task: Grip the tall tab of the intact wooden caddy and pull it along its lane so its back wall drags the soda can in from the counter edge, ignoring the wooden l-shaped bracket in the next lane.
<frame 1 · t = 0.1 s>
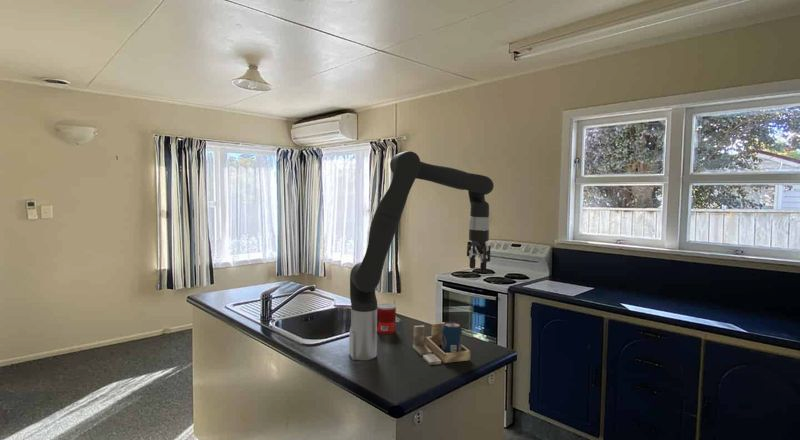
hand: (477, 270, 161), 29 cm above the worktop, fingers open, 8 cm apart
wooden caddy: (447, 341, 153), point 5 cm above the worktop, slide at 0.0 cm
canned food: (385, 331, 175), on the worktop
wooden l-shaped bracket: (426, 355, 151), on the worktop
soda can: (451, 357, 149), resting in wooden caddy
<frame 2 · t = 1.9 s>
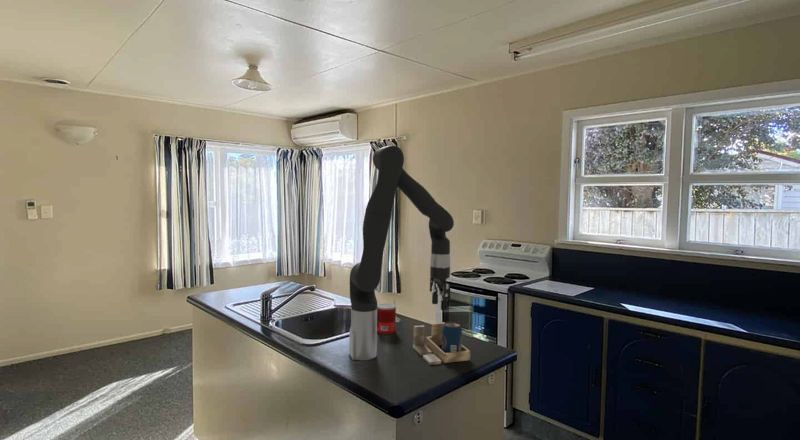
hand: (439, 307, 160), 15 cm above the worktop, fingers open, 8 cm apart
nothing on the worktop moved.
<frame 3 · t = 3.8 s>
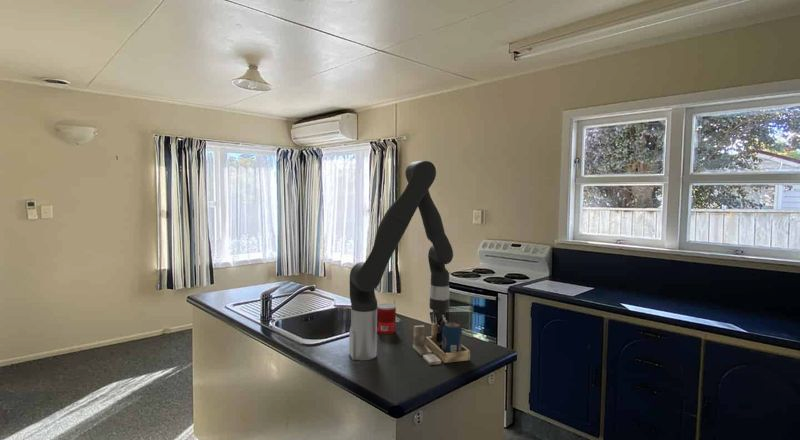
hand: (438, 340, 160), 2 cm above the worktop, fingers closed on wooden caddy
wooden caddy: (447, 341, 153), point 5 cm above the worktop, slide at 0.0 cm, touching gripper
everything else where it was.
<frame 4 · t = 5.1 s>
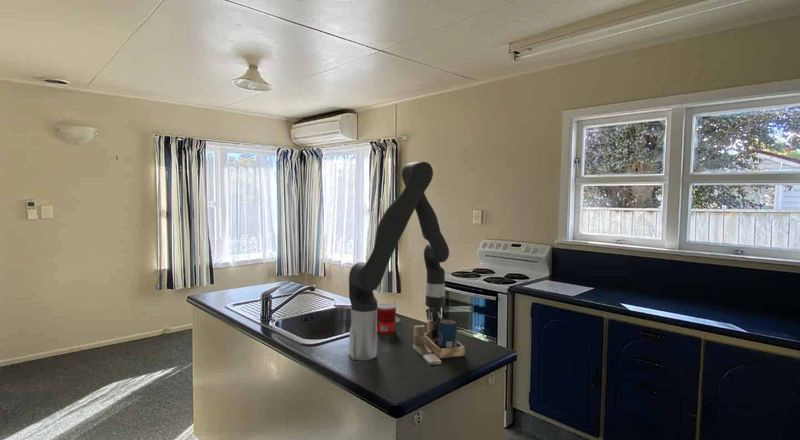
hand: (434, 337, 164), 2 cm above the worktop, fingers closed on wooden caddy
wooden caddy: (442, 337, 157), point 4 cm above the worktop, slide at 4.2 cm, touching gripper, soda can
soda can: (447, 353, 153), resting in wooden caddy
everything else where it was.
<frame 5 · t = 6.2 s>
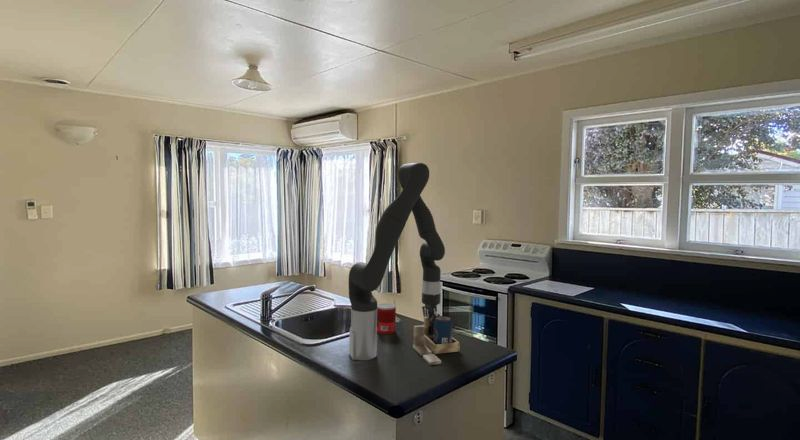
hand: (430, 333, 168), 2 cm above the worktop, fingers closed on wooden caddy
wooden caddy: (438, 333, 161), point 4 cm above the worktop, slide at 8.3 cm, touching gripper, soda can
soda can: (442, 349, 157), resting in wooden caddy
everything else where it was.
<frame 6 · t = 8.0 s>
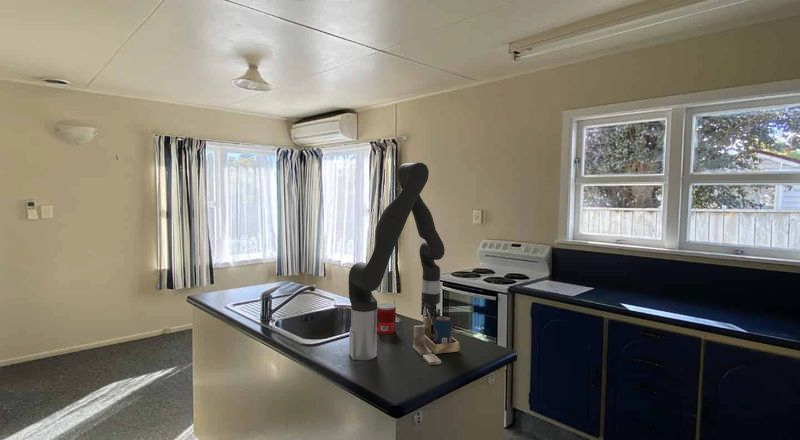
hand: (429, 330, 169), 3 cm above the worktop, fingers open, 8 cm apart
wooden caddy: (437, 333, 161), point 4 cm above the worktop, slide at 8.4 cm
soda can: (442, 349, 157), resting in wooden caddy
everything else where it was.
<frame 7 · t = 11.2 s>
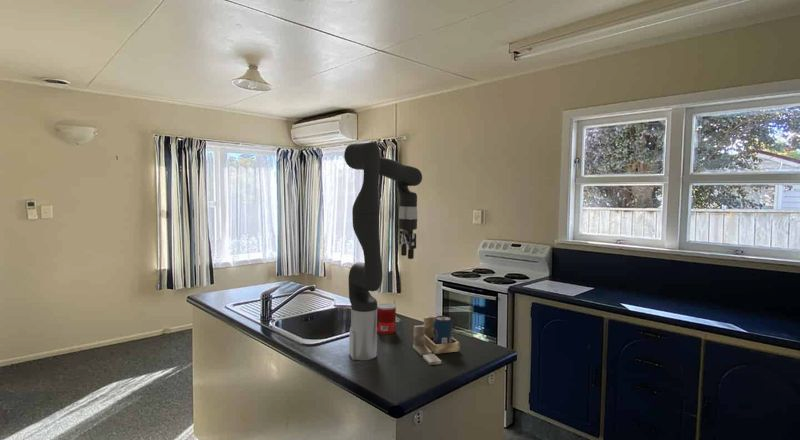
hand: (407, 257, 171), 32 cm above the worktop, fingers open, 8 cm apart
nothing on the worktop moved.
at the end: wooden caddy slide at 8.4 cm; soda can moved 7.8 cm from its start; soda can tilted 0° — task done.
